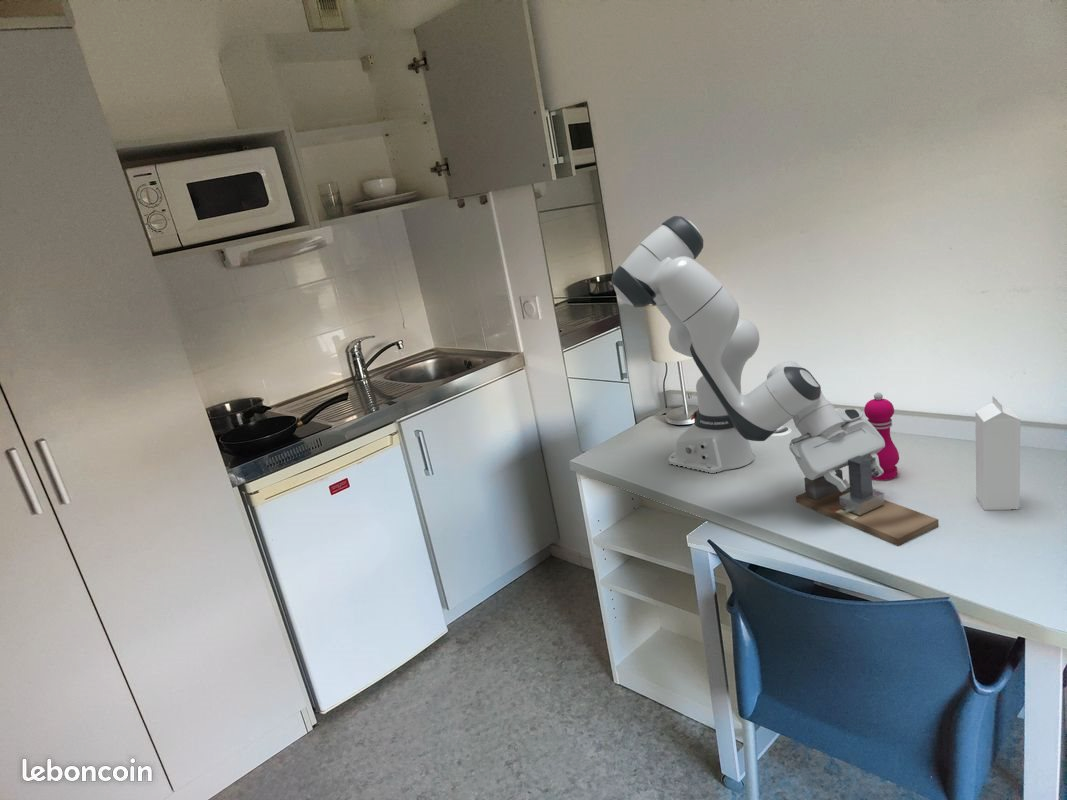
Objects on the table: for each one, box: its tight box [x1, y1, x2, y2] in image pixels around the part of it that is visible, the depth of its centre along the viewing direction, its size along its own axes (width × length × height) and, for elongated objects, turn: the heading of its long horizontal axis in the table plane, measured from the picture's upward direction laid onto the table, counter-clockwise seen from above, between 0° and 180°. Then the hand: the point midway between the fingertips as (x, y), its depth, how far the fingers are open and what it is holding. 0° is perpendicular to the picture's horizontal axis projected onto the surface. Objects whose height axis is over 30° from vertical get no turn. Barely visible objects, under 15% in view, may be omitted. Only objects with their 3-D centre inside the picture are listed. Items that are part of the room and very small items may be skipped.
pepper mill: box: [863, 392, 900, 481], centre depth 155 cm, size 7×7×20 cm
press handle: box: [839, 455, 885, 515], centre depth 141 cm, size 5×8×10 cm, turn 114°
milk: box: [975, 395, 1021, 511], centre depth 134 cm, size 6×6×22 cm
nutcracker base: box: [795, 469, 939, 547], centre depth 142 cm, size 26×11×9 cm, turn 24°
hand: (863, 482), depth 141 cm, fingers open, 8 cm apart
